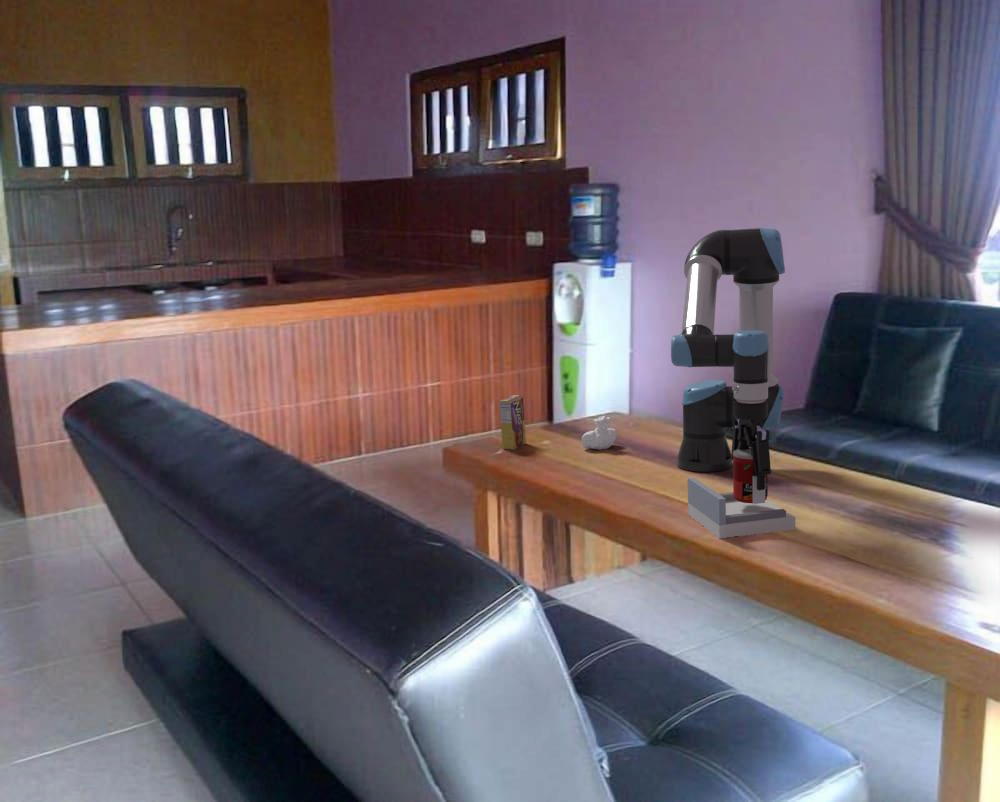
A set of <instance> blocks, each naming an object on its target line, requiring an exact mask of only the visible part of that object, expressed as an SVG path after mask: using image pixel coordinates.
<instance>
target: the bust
mask: <svg viewBox="0 0 1000 802" xmlns="http://www.w3.org/2000/svg"><path fill="white" fill-rule="evenodd" d="M592 421H593V423H594V424H595V429H594V430H589V431H587V432H585V433H584V434H583V435H582V436H581V445H582V447H583V448H584V449H591V450H599V451H601V450H602V449H604V450H607V449H609V448H610V447H611V446H613V444H614V442H615V440H616V439H617V437H618V431H617V430H616V429H615V428H610V424H611V421H612V419H611V417H609V416H607V417H606V416H605V415H603V416H600V415H599V417H598V418H595V419H592ZM608 427H609V428H608ZM602 451H603V450H602Z"/></svg>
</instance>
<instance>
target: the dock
mask: <svg viewBox="0 0 1000 802" xmlns="http://www.w3.org/2000/svg"><path fill="white" fill-rule="evenodd" d="M689 515H690V516H691V517H690V516H689ZM687 516H689V517H690V518H691V519H693V518H694V519H695V520H696V522H697V523H698V522H699V523H700V524H699V523H698V524H699V525H701V526H702V525H703V526H704V527H703V526H702V527H703V528H705V529H706V528H707V529H708V530H707V529H706V530H707V531H708V532H710V533H711V534H712V535H713V536H715V537H716V538H718V539H719V540H722V539H728V538H727V537H730V538H735V537H734V536H739V537H744V536H745V537H746V535H747V536H754V534H756V535H763V534H764V533H765V534H771V533H772V532H773V533H779V532H778V531H782V532H788V531H787V530H790V531H795V530H796V516H794V515H793V514H792V513H790V512H788V511H787V510H785V509H784V508H781V507H780V506H778V505H776V504H775V503H773V502H772V501H770V500H769V499H768V498H767V499H766V500H765V503H759V504H753V503H743V502H739V501H737V500H735V498H734V495H733V491H732V492H725V493H724V492H722V493H719V492H716V491H715V490H713V489H712V488H711V487H709V486H707V485H706V484H705V483H703V482H701V481H700V480H699V479H697V478H696V477H687ZM694 519H693V520H694ZM695 520H694V521H695ZM765 534H764V535H765Z"/></svg>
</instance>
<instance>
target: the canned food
mask: <svg viewBox="0 0 1000 802" xmlns="http://www.w3.org/2000/svg"><path fill="white" fill-rule="evenodd" d="M732 473H733V474H732V478H733V479H732V484H733V485H732V486H733V489H732V492H733V495H734V498H735V500H737V501H739V502H743V503H753V476H752V474H754V467H753V456H751V450H750V448H749V449H747V450H739V449H737V450H735V451H734V452H733V465H732ZM768 477H769V475H766V476H765V500H766V499H767V500H768V496H769V495H768V489H769V482H768V481H769V478H768Z"/></svg>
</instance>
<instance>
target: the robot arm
mask: <svg viewBox="0 0 1000 802" xmlns="http://www.w3.org/2000/svg"><path fill="white" fill-rule="evenodd" d="M781 236H782V235H781V232H780V231H779V230H778V229H775V228H763V227H760V228H758V227H757V228H743V229H742V228H740V229H719V230H715V231H712V232H710V233H708V234H706V235H704V236H703V237H701V239H699V240H697V242H696V243H695V244H694V245H693V246H692V248H691V249H690V250H689V252H688V254H687V256H686V257H685V258H686V259H685V261H684V267H683V274H684V276H685V278H686V284H685V285H686V287H685V295H684V296H685V297H684V308H683V316H682V327H681V333H680V334H675V335H673V336H672V338H671V340H670V342H671V343H670V359H671V363H672V366H675V367H684V368H703V367H704V368H707V367H709V368H713V367H714V368H715V367H719V368H720V367H721V368H725V367H726V368H729V367H730V368H731V367H732V368H733V386H731V385H729V386H728V385H727V382H726V381H725V380H722V379H719V380H718V379H710V380H704V381H698V382H694V383H691V384H689V385H687V386H685V387H684V389H683V392H682V402H681V404H682V435H683V436H682V441H681V444H680V447H679V450H678V454H677V456H676V465H677V467H679V468H680V469H683V470H685V471H690V472H691V471H692V472H699V473H703V472H706V473H709V472H719V471H726V470H729V469H731V468H733V452H734V451H735V450H737V449H739V450H747V449H749V448H750V450H751V456H753V467H754V474H752V476H753V504H759V503H765V476H766V475H768V476H769V475H771V474H772V470H771V466H772V465H771V456H770V455H771V454H770V442H769V440H770V430H773V429H776V428H777V427H778V426H779V424H780V421H781V415H782V409H783V402H784V394H785V393H784V392H785V387H783V386H781V385H779V379H778V378H777V377H776V376H775V375H774V374H773V368H774V367H773V364H774V363H773V360H774V359H773V358H774V357H773V356H774V355H773V350H774V349H773V347H774V343H773V342H774V287H775V285H777V284H778V282H779V281H780V275H783V274H785V273H786V269H785V268H786V267H785V258H784V252H783V245H782V238H781ZM722 276H732V278H733V280H732V281H733V283H734V284H735V285H736V286H737V287H738V289H739V291H738V293H739V294H738V295H739V296H738V297H739V298H738V299H739V301H738V303H739V304H738V305H739V307H738V308H739V313H738V314H739V331H736V332H735V333H734V334H714V333H715V320H716V307H717V306H716V302H717V289H718V281H719V280H720V278H721V277H722ZM731 429H732V430H733V431H732V442H731V448H730V445H729V443H728V439H727V430H731Z"/></svg>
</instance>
